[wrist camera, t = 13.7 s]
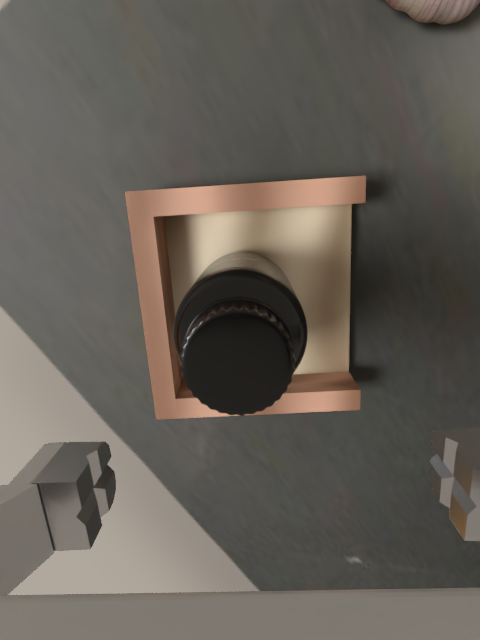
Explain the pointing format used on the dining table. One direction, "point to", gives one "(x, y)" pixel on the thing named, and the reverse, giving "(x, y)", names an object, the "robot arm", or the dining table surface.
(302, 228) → the open-sided tray
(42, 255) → the dining table surface
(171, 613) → the robot arm
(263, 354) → the supplement bottle
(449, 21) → the garlic bulb
